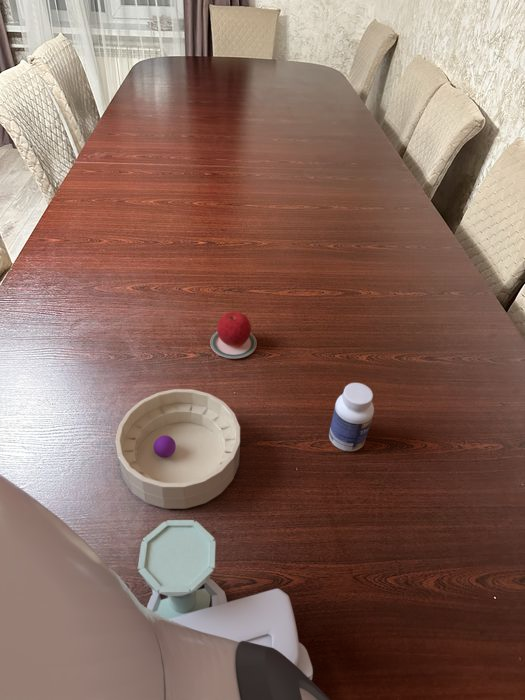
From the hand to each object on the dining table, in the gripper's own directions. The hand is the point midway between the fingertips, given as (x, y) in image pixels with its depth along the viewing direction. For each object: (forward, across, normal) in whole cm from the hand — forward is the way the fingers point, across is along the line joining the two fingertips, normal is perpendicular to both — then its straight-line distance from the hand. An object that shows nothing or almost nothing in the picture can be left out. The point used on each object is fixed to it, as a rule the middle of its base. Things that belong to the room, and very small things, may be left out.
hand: (179, 573), depth 54 cm
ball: (+20, -1, +4) cm, 21 cm away
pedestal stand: (-1, 0, +5) cm, 5 cm away
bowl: (+19, -3, +6) cm, 20 cm away
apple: (+40, -16, +7) cm, 44 cm away
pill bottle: (+17, -28, +7) cm, 33 cm away
